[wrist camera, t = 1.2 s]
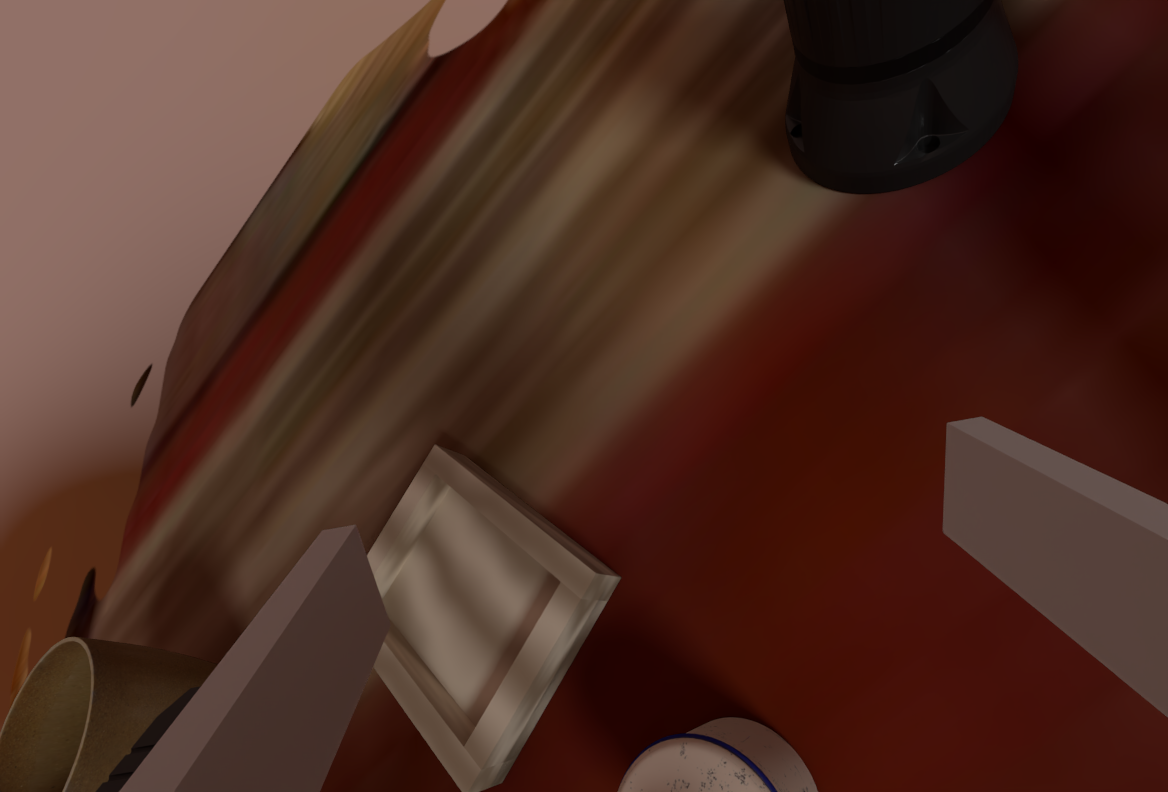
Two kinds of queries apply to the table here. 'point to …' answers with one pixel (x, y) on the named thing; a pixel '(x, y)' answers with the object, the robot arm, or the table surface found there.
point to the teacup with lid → (719, 761)
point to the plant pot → (88, 712)
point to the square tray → (479, 614)
